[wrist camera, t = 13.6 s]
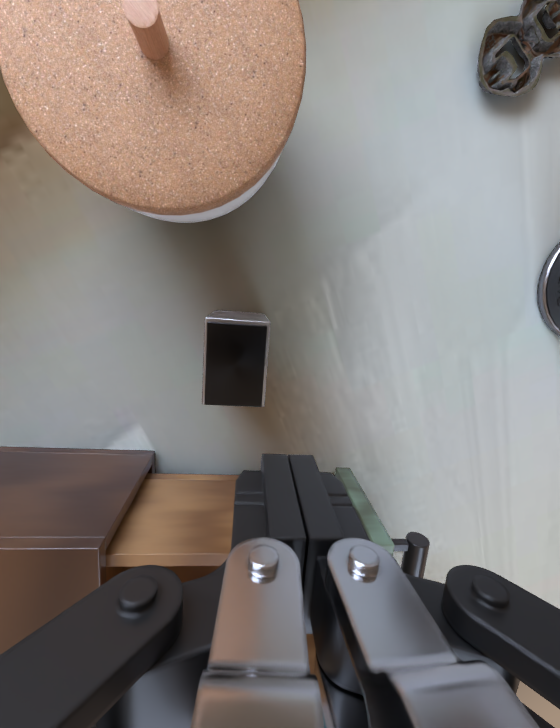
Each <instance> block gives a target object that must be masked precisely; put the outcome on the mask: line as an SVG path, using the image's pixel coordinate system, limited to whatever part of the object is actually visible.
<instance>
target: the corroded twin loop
mask: <svg viewBox="0 0 560 728" xmlns="http://www.w3.org/2000/svg"><path fill="white" fill-rule="evenodd" d="M545 5H547V6H546V7H545V9H546V11H545V12H544V14H543V20H542V21H543V23H544V24H545V26H546V28H548V29H549V28H551V29H552V28H554V27H557V28H559V32H558V33H557V34H556V35H555V36H554V37H553V38H548V37H547V35H546V33H545V31H544V29H543V27H542V25H541V24H540V23H539V22H538V20H537V13H538V12H539V11H540V10H541V9H542V8H543V7H544V6H545ZM509 40H511V41H512V44H513V47H514V48H515V49H516V51H517V52H518V54H519V56H520V57H521V58H523V59H524V61H525V66H524V70H523V73H521V74H520V75H519V76H517V77H516V78H515V79H510V80H509V78H510V77H511V76H512V75H513V73H514V72H515V71H516V69H517V68H518V66H517V64H516V62H515V60H514V58H513V56H512V55H511V54H510V53H509V52H508V51H505V52H503V53H501V54H500V55H499V56H498V57H497V58H496V57H495V54H496V53H497V52H498V51H499V50H500V49H501V48H502V47H503V46H504V45H505V44H506V43H507V42H508V41H509ZM547 57H549V58H552V57H560V0H523V3H522V5H521V9H520V13H519V15H518V16H509V17H504V18H500V19H496V20H494V21H493V22H492V23H491V24H490V25H489V26H488V27H487V28H486V31H485V34H484V38H483V41H482V44H481V48H480V53H479V60H478V68H477V69H478V75H479V78H480V81H479V85H480V86H481V88H482V90H483V91H484V92H488V93H490V94H497V95H502V96H520V95H522V94H525V93H527V92H529V91H530V90H532V89H533V88H534V87H535V86H536V85H537V83H538V80H539V77H540V74H541V70H542V61H543V59H544V58H547Z"/></svg>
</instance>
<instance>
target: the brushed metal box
mask: <svg viewBox="0 0 560 728" xmlns="http://www.w3.org/2000/svg"><path fill="white" fill-rule="evenodd" d="M269 336H270V321H269V320H268V318H267V317H266V316H265V315H264V314H263V313H251V312H237V311H223V310H216V311H214V312H213V313H211V314H210V315H208V316H206V317H205V327H204V357H203V387H202V404H205V405H227V406H251V407H264V405H265V391H266V378H267V364H268V350H269Z"/></svg>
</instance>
